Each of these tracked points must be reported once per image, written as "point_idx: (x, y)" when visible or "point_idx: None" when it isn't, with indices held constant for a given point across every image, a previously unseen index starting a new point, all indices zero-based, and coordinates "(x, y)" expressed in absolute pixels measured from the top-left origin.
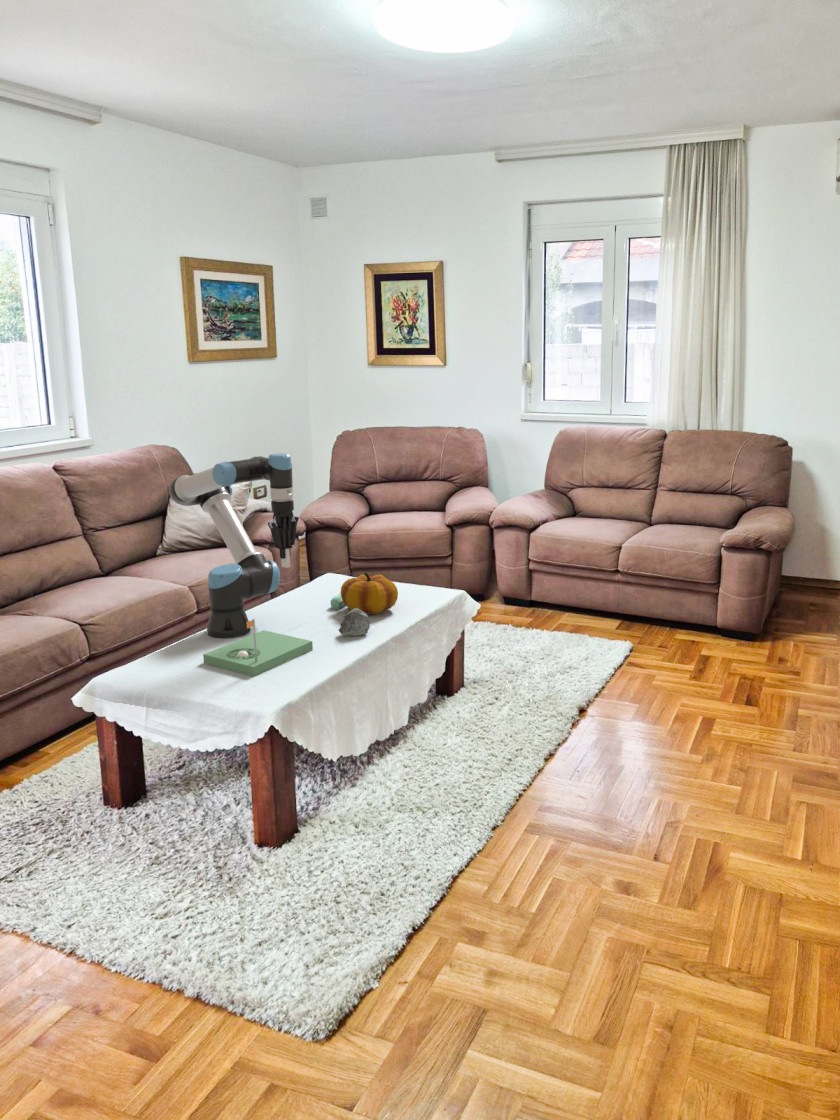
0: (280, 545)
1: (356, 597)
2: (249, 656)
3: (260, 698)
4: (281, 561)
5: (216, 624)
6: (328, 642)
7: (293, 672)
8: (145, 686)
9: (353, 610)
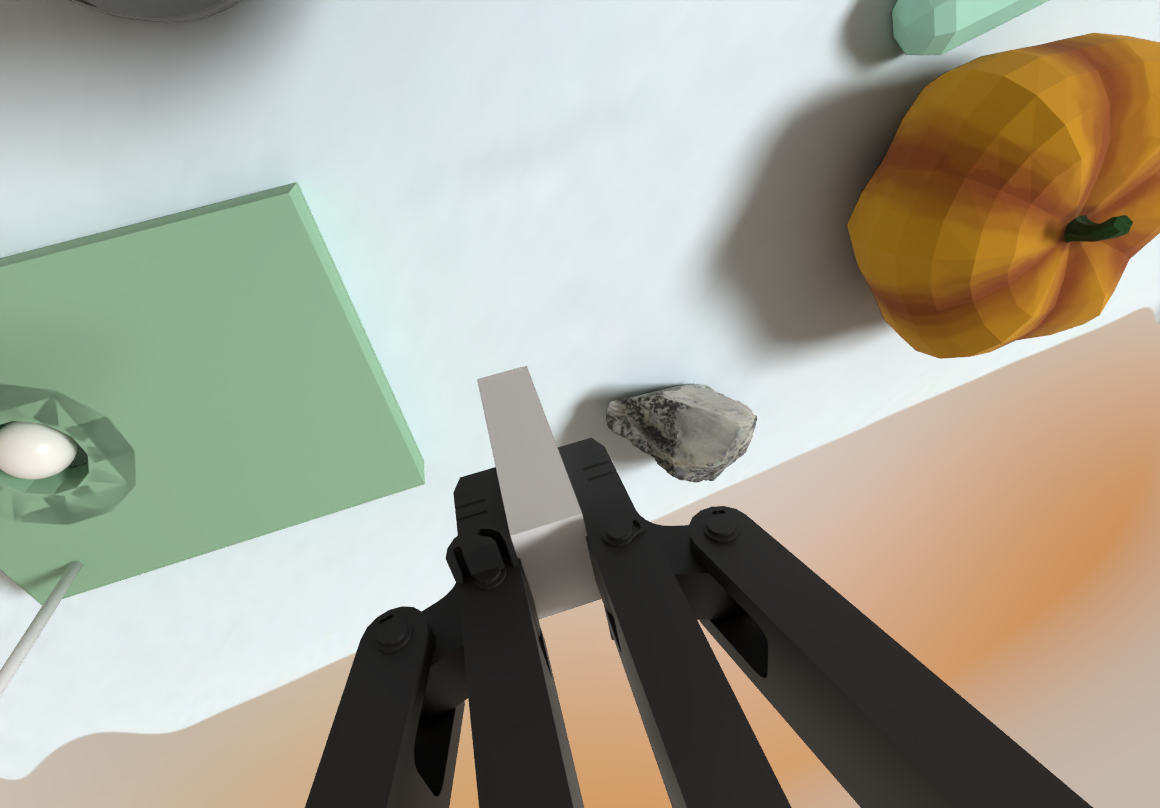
0: (425, 741)
1: (888, 281)
2: (58, 502)
3: (32, 721)
4: (485, 418)
5: None
6: None
7: (238, 602)
8: None
9: (700, 467)
